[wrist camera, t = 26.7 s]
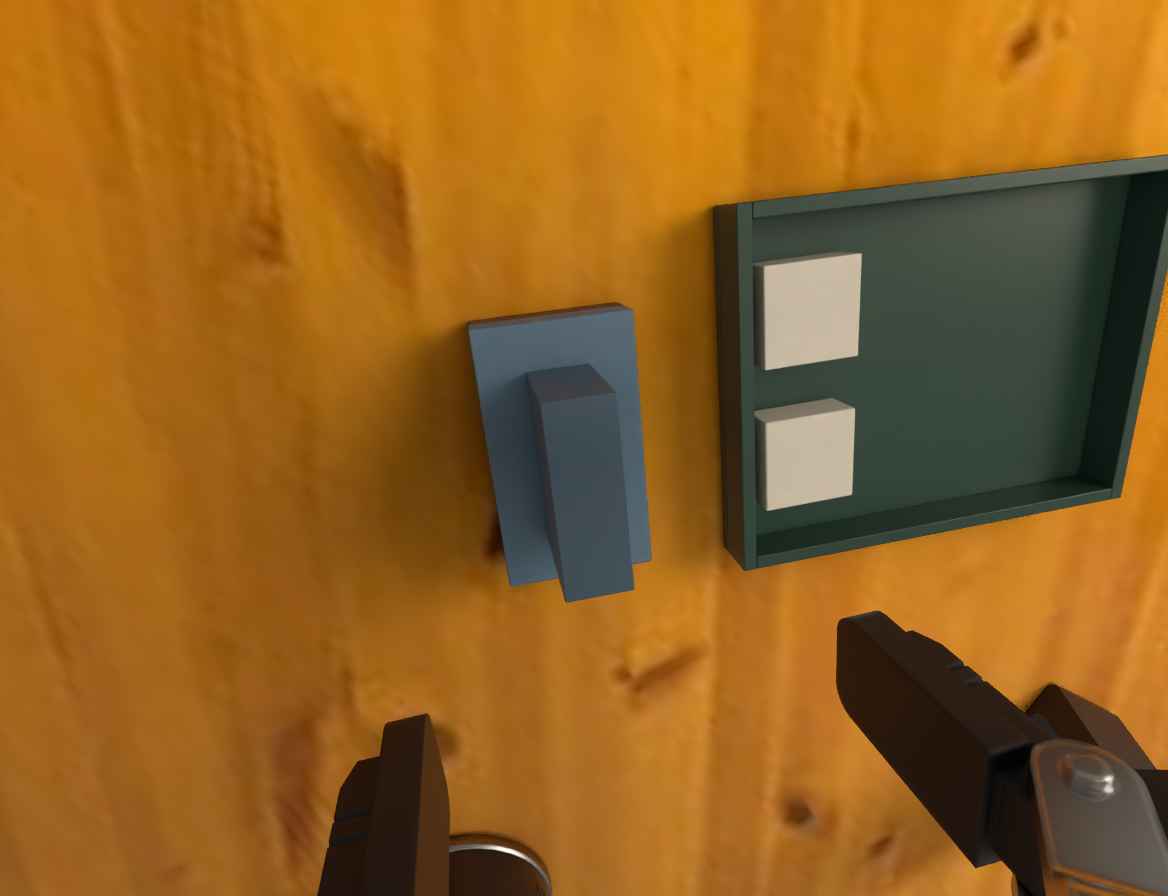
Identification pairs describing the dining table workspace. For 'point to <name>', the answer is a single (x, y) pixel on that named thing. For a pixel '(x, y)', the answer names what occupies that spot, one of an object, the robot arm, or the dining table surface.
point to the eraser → (565, 445)
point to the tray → (953, 349)
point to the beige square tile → (803, 453)
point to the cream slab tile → (806, 309)
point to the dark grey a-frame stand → (1086, 725)
